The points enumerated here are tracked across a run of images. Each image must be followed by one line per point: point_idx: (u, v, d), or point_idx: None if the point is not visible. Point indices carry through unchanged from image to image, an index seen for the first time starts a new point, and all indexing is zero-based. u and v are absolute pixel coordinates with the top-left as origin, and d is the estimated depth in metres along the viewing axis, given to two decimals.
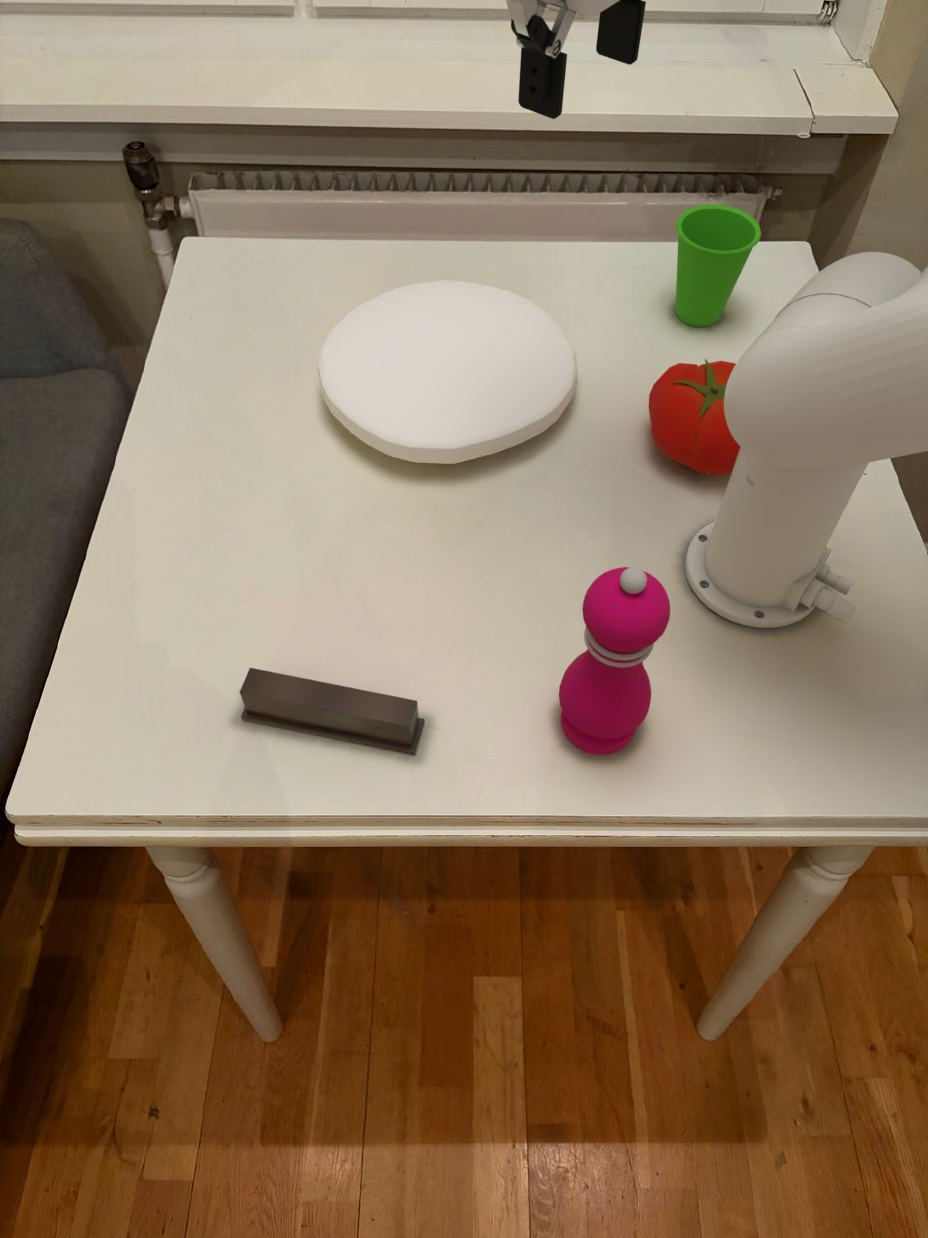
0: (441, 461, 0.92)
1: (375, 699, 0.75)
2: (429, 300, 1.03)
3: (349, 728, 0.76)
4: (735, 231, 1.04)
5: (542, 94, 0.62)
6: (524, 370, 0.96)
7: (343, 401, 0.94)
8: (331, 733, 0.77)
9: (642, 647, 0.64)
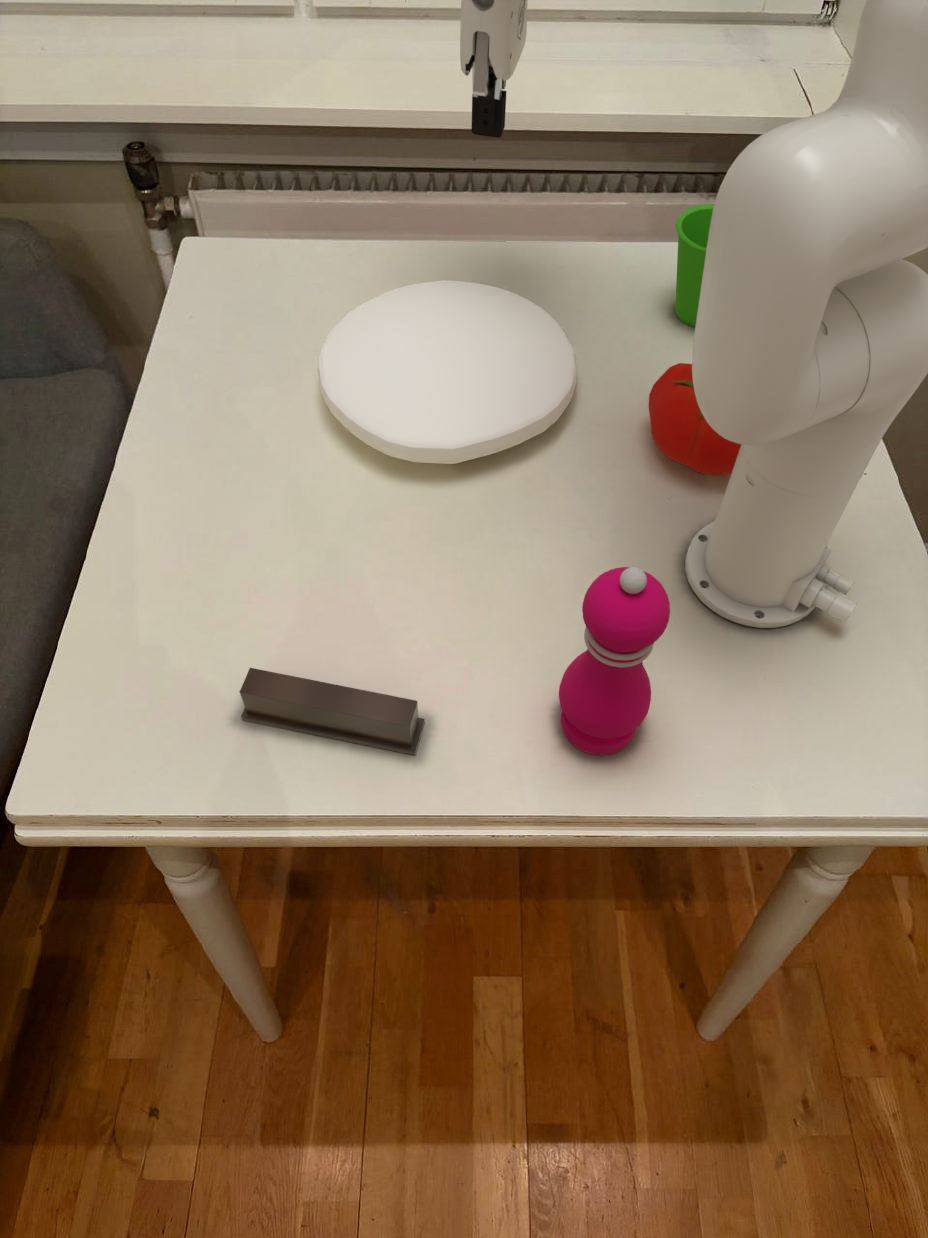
0: (441, 461, 0.92)
1: (375, 699, 0.75)
2: (429, 300, 1.03)
3: (349, 728, 0.76)
4: None
5: (492, 123, 0.96)
6: (524, 371, 0.96)
7: (343, 401, 0.94)
8: (331, 733, 0.77)
9: (642, 647, 0.64)
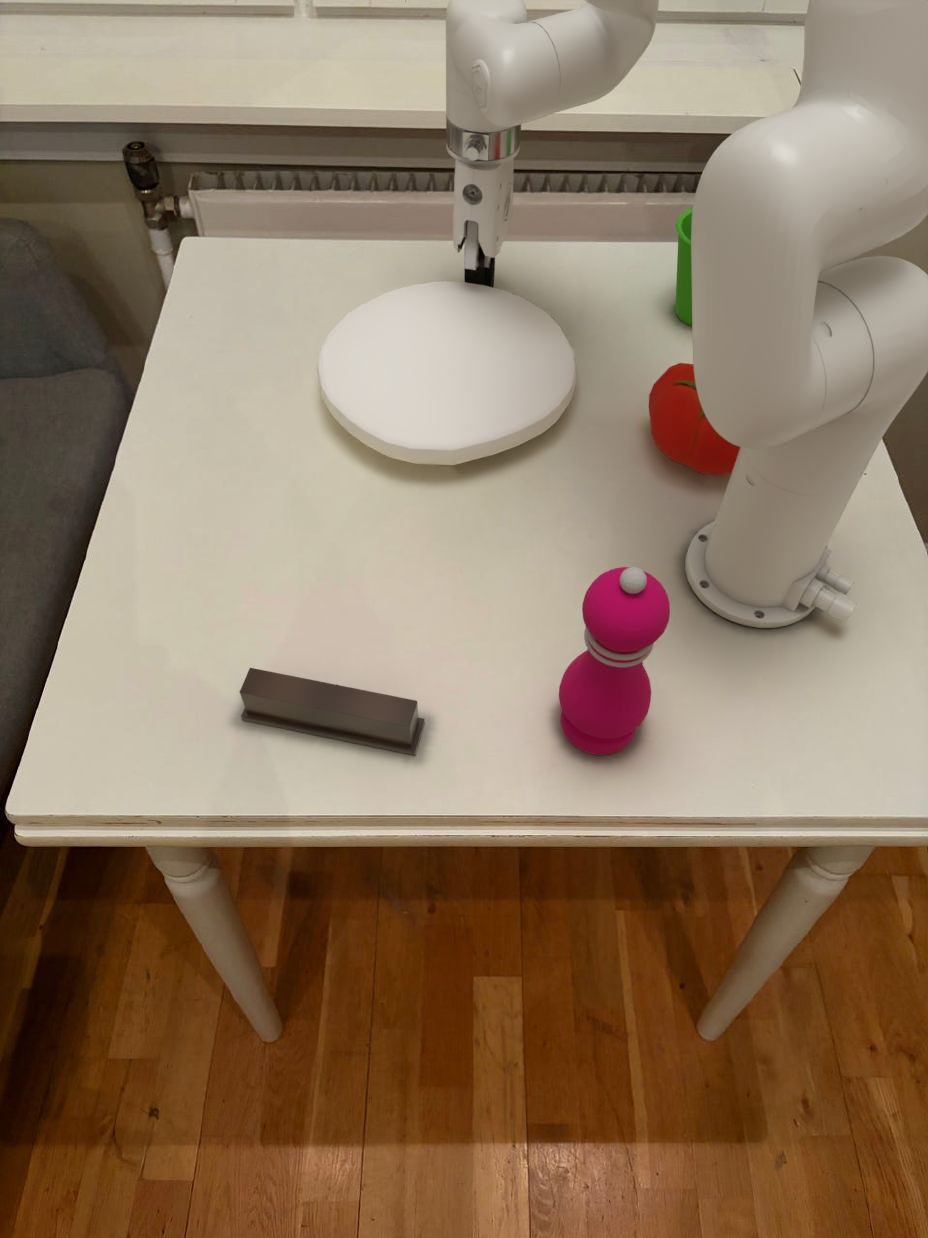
0: (441, 462, 0.92)
1: (375, 699, 0.75)
2: (429, 301, 1.02)
3: (349, 728, 0.76)
4: None
5: None
6: (523, 372, 0.96)
7: (343, 402, 0.93)
8: (331, 733, 0.77)
9: (642, 647, 0.64)
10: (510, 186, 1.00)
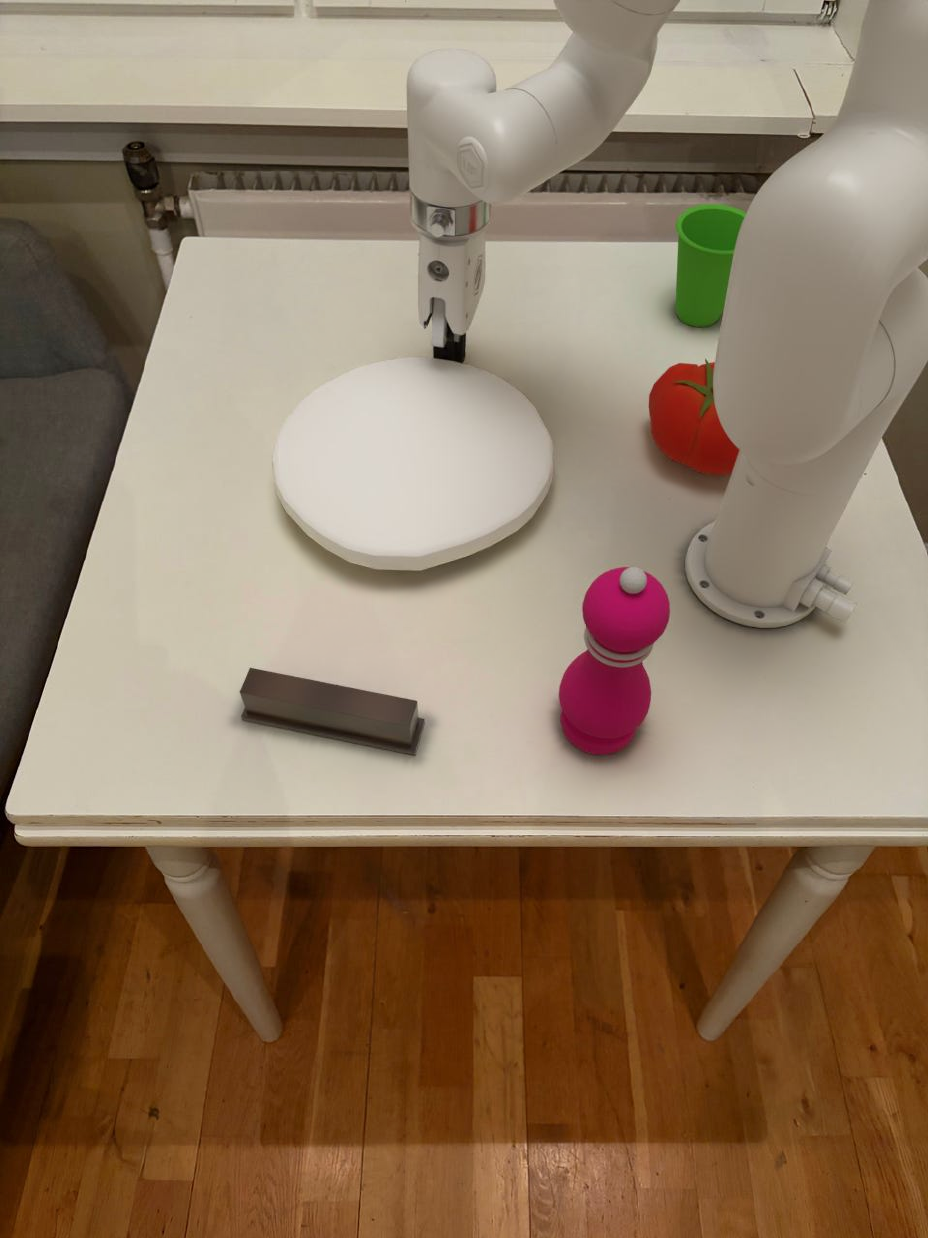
0: (406, 568, 0.84)
1: (375, 699, 0.75)
2: (394, 382, 0.95)
3: (349, 728, 0.76)
4: (735, 231, 1.04)
5: (452, 359, 1.00)
6: (496, 464, 0.88)
7: (299, 502, 0.86)
8: (331, 733, 0.77)
9: (642, 647, 0.64)
10: (481, 258, 0.92)
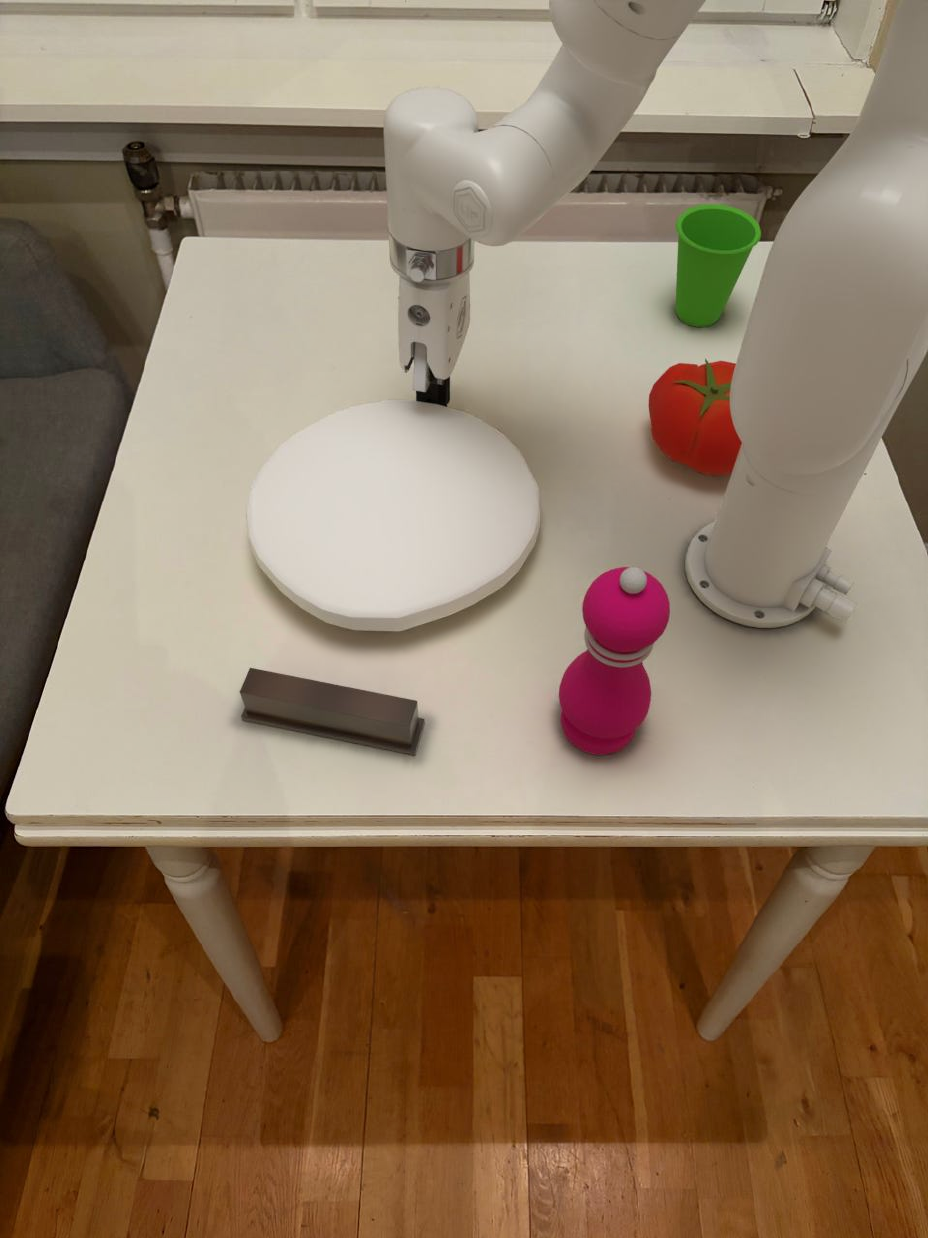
0: (385, 629, 0.80)
1: (375, 699, 0.75)
2: (374, 428, 0.91)
3: (349, 728, 0.76)
4: (735, 231, 1.04)
5: (436, 402, 0.96)
6: (480, 517, 0.84)
7: (273, 559, 0.82)
8: (331, 733, 0.77)
9: (642, 647, 0.64)
10: (465, 300, 0.89)
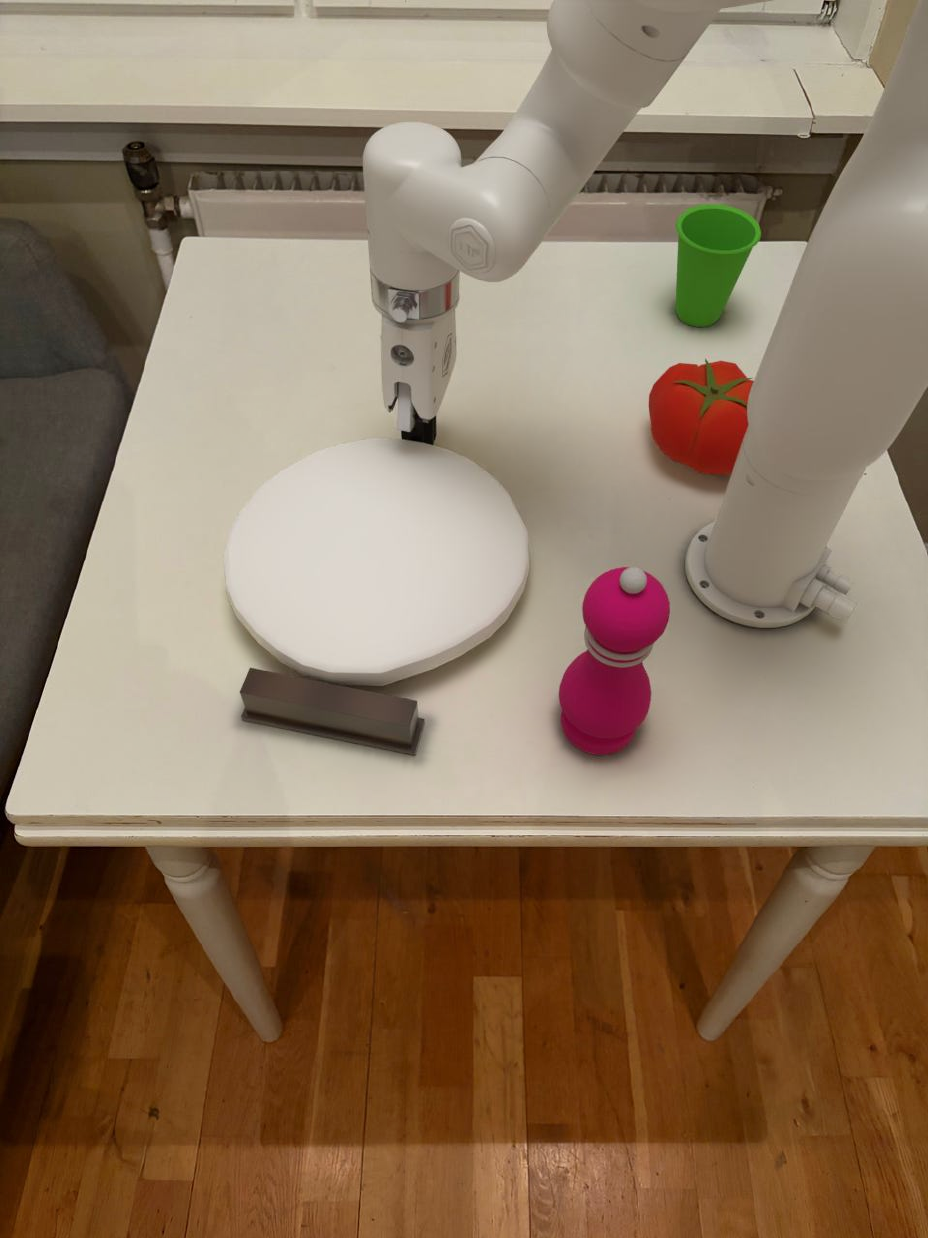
0: (368, 684, 0.77)
1: (375, 699, 0.75)
2: (357, 469, 0.88)
3: (349, 728, 0.76)
4: (735, 231, 1.04)
5: (422, 440, 0.93)
6: (466, 564, 0.81)
7: (251, 610, 0.79)
8: (331, 733, 0.77)
9: (642, 647, 0.64)
10: (450, 337, 0.85)
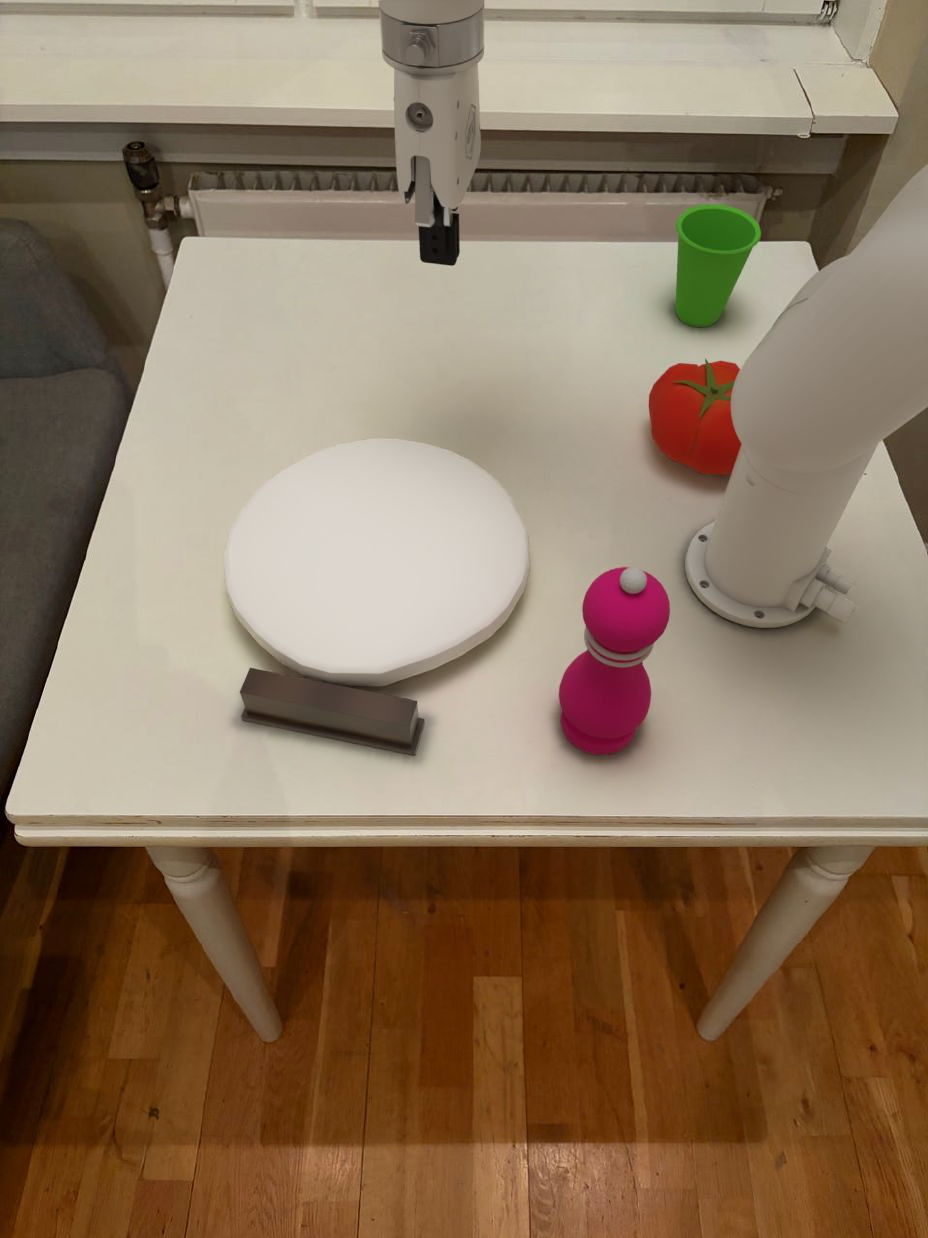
0: (367, 684, 0.77)
1: (375, 699, 0.75)
2: (357, 469, 0.88)
3: (349, 728, 0.76)
4: (735, 231, 1.04)
5: (443, 252, 0.81)
6: (466, 565, 0.81)
7: (251, 611, 0.79)
8: (331, 733, 0.77)
9: (642, 647, 0.64)
10: (474, 111, 0.74)
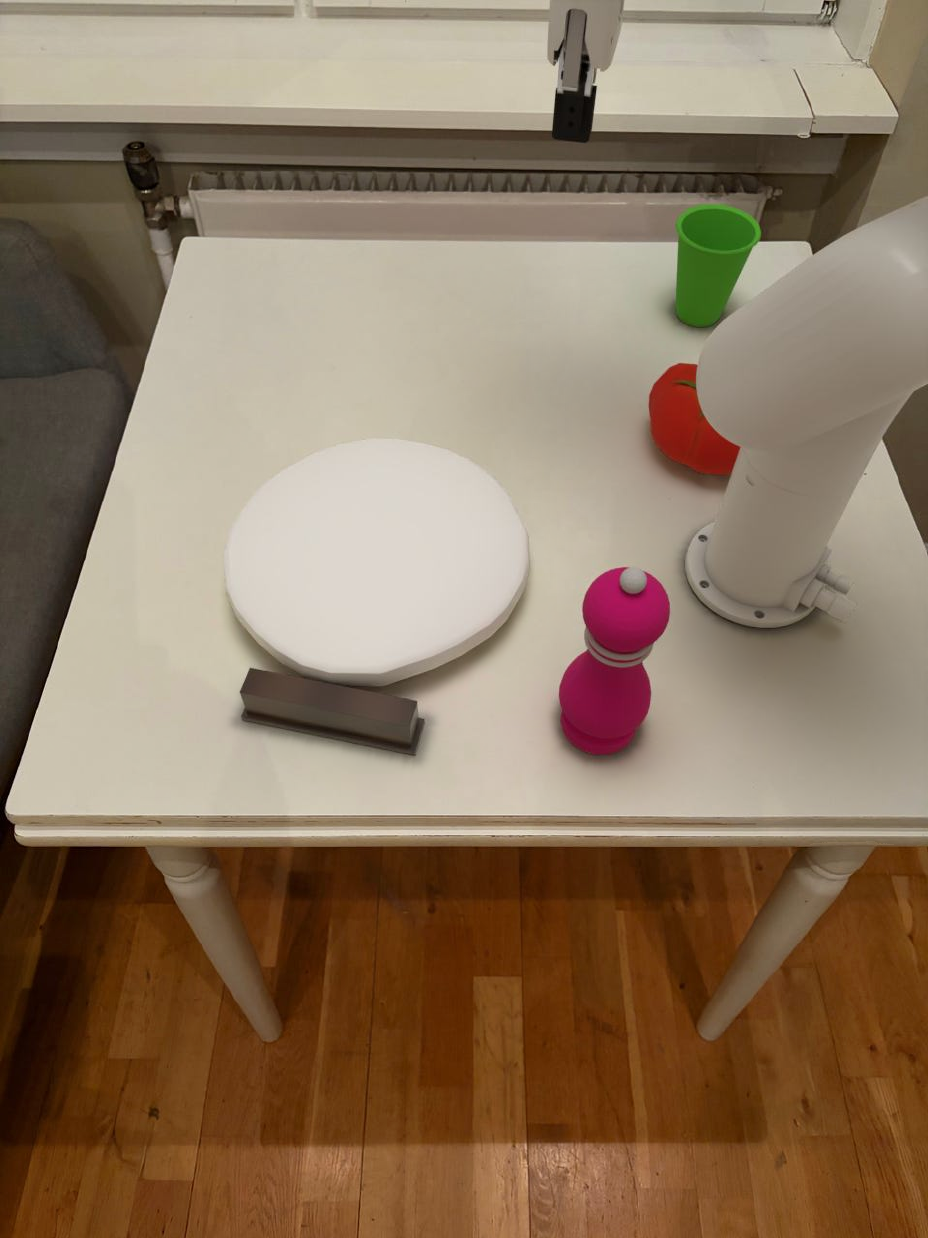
0: (367, 684, 0.77)
1: (375, 699, 0.75)
2: (357, 469, 0.88)
3: (349, 728, 0.76)
4: (735, 231, 1.04)
5: (579, 126, 0.78)
6: (466, 565, 0.81)
7: (251, 611, 0.79)
8: (331, 733, 0.77)
9: (642, 647, 0.64)
10: None
